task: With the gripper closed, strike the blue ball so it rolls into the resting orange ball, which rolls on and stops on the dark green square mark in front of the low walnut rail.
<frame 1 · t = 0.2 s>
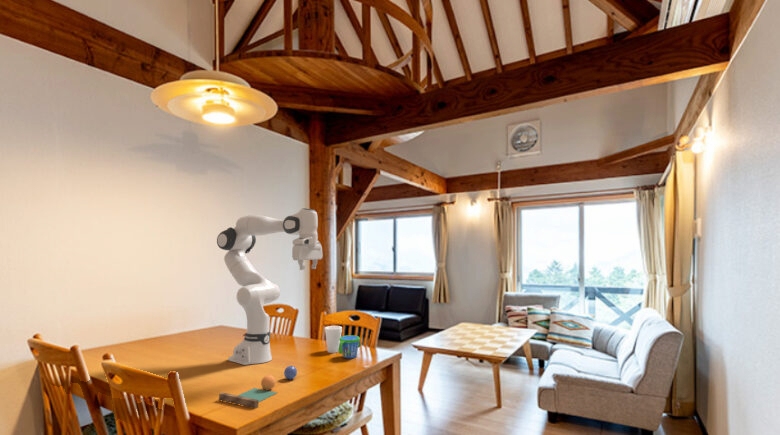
hand: (308, 269, 192), 47 cm above the table, tool pointing down, fingers open, 8 cm apart
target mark: (254, 395, 153), on the table
blue ball: (290, 372, 172), on the table
orange ball: (268, 382, 160), on the table
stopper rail: (238, 403, 145), on the table
snack cup: (349, 357, 207), on the table
foam cup: (333, 351, 218), on the table
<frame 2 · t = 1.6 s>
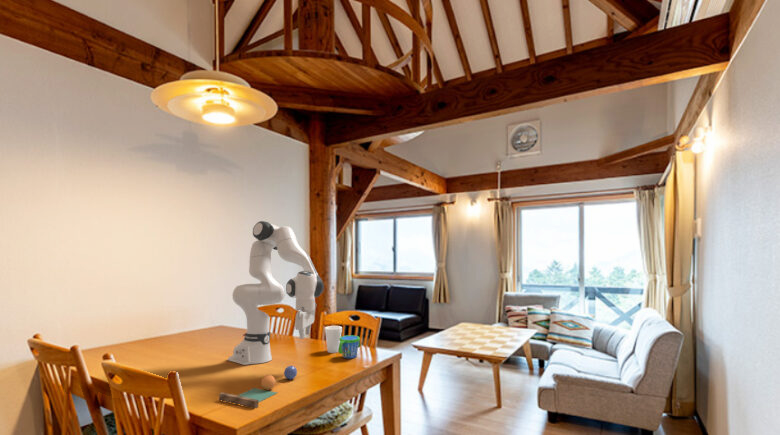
hand: (304, 336, 182), 17 cm above the table, tool pointing down, fingers open, 8 cm apart
nothing on the table moved.
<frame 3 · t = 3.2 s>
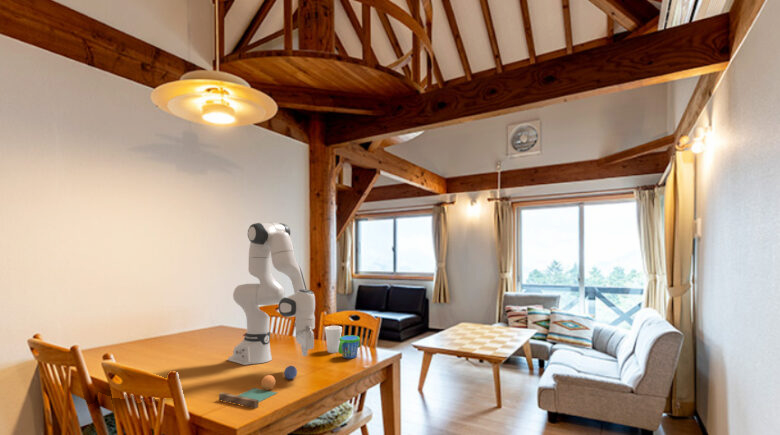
hand: (304, 355, 181), 8 cm above the table, tool pointing down, fingers closed
nothing on the table moved.
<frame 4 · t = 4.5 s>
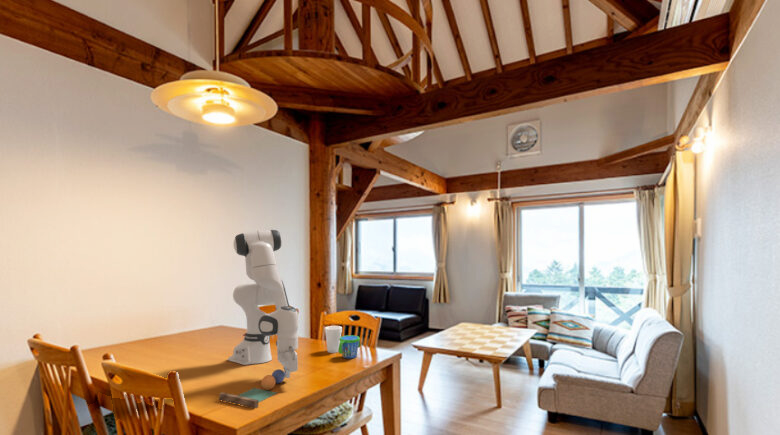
hand: (287, 377, 169), 2 cm above the table, tool pointing down, fingers closed
blue ball: (278, 376, 167), on the table
everything else where it was.
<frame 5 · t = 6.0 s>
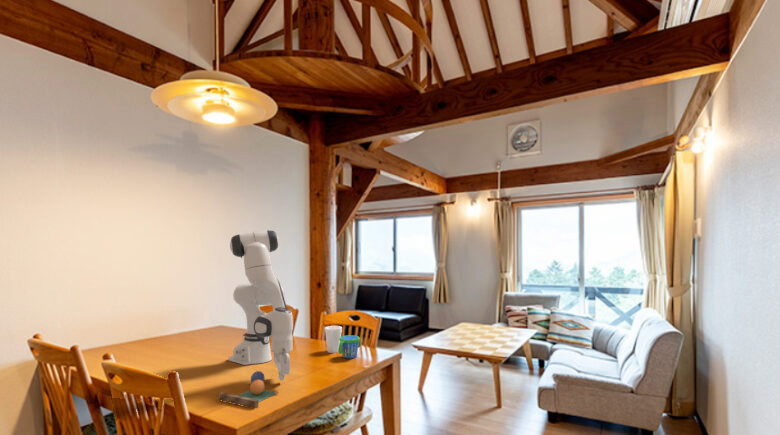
hand: (281, 379, 167), 2 cm above the table, tool pointing down, fingers closed
blue ball: (257, 378, 165), on the table
orange ball: (257, 387, 154), on the table
everything else where it was.
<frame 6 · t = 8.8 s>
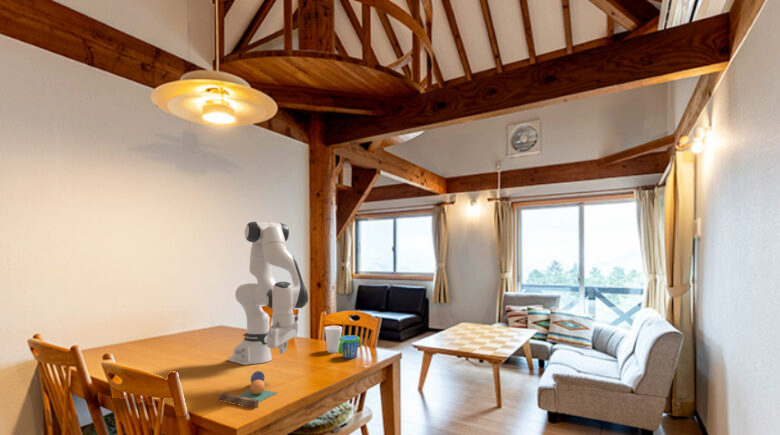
hand: (283, 352, 169), 13 cm above the table, tool pointing down, fingers closed
nothing on the table moved.
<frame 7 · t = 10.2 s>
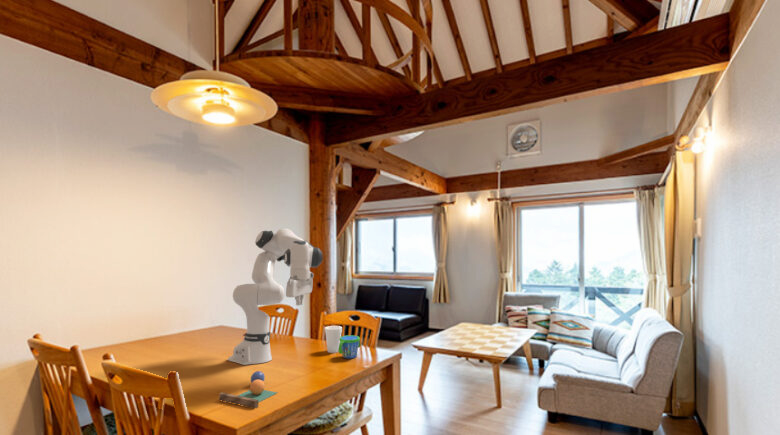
hand: (299, 304, 183), 31 cm above the table, tool pointing down, fingers closed
nothing on the table moved.
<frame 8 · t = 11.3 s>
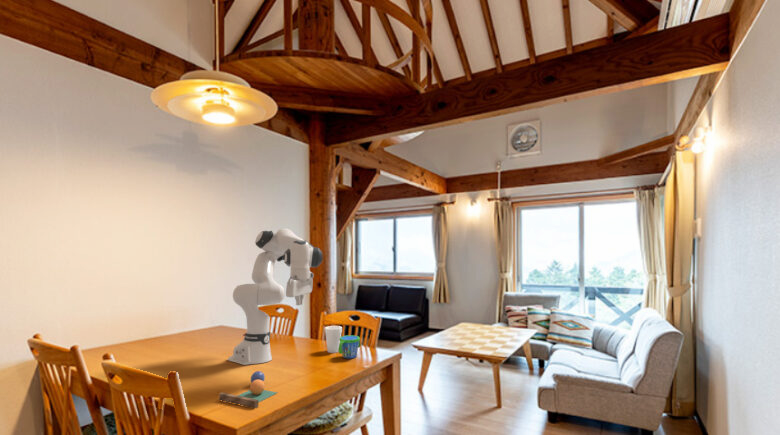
hand: (299, 304, 183), 31 cm above the table, tool pointing down, fingers closed
nothing on the table moved.
at the end: orange ball 1.5 cm from the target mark (horizontally); orange ball never touched the robot; blue ball first touched orange ball at 4.6 s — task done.
